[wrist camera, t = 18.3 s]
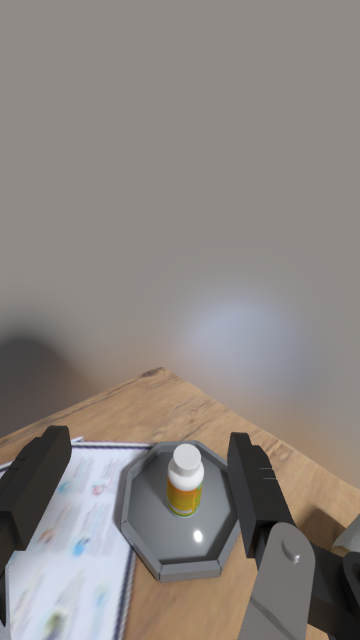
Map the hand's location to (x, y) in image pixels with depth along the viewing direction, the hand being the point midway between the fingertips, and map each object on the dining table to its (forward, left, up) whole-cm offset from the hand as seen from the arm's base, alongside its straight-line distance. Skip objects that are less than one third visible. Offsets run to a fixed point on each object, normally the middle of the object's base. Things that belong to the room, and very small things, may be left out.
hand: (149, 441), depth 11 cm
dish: (-7, +14, -30) cm, 34 cm away
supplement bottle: (-7, +13, -30) cm, 33 cm away
